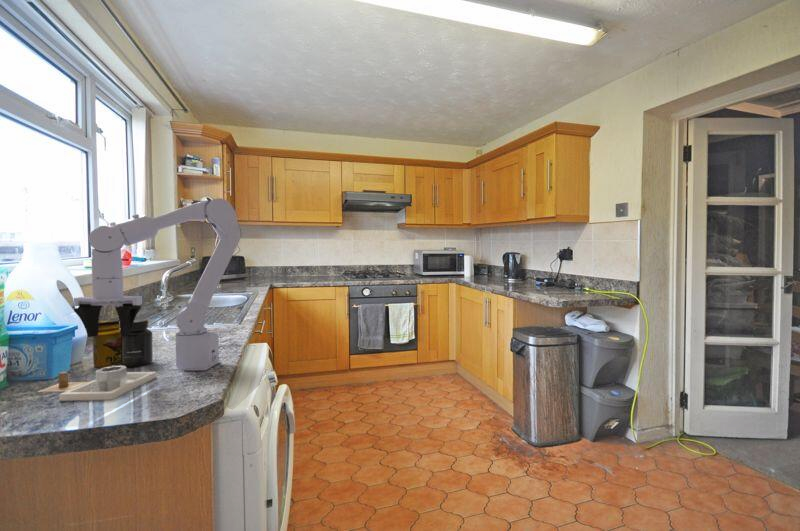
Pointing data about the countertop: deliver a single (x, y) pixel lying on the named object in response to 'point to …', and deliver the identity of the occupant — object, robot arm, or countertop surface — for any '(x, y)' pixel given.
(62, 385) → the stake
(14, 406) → the countertop surface
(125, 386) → the tray
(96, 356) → the condiment
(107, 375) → the ring
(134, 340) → the supplement bottle
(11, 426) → the countertop surface
